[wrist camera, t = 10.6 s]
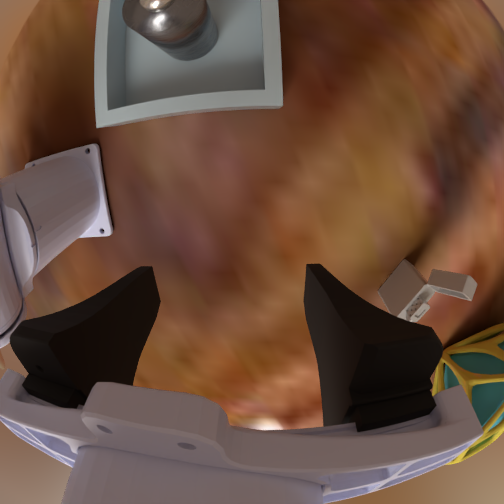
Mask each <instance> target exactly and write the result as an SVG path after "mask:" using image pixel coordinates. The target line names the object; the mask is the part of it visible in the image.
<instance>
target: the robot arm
mask: <svg viewBox="0 0 504 504" xmlns="http://www.w3.org/2000/svg"><path fill="white" fill-rule="evenodd" d="M88 148H89V149H90V153H88ZM102 229H104V232H103V231H102ZM112 233H113V227H112V222H111V218H110V213H109V207H108V202H107V197H106V191H105V185H104V179H103V172H102V165H101V157H100V149H99V146H98V144H90V145H86V146H82V147H78V148H74V149H71V150H67V151H64V152H60V153H57V154H54V155H50V156H47V157H44V158H41V159H38V160H35V161H32V162H29V163H27V164H26V165H25V169H24V170H22V171H19V172H16V173H14V174H11V175H9V176H7V177H4V178H2V179H0V348H2V347H3V346H5V345H7V344H8V343H9V342H10V344H11V347H12V349H13V351H14V353H15V354H16V356H17V357H18V359H19V360H20V362H21V363H22V365H23V366H24V368H25V369H26V370H27V372H28V373H29V374H28V376H27V377H26V378H25V377H24V376H23V375H21V374H20V373H17V372H15V371H13V370H11V369H7V371H6V372H5V374H4V375H3V377H2V378H1V380H0V420H1V422H2V423H4V424H5V425H6V426H7V427H8V428H9V429H10V430H11V431H12V432H13V433H14V434H15V435H16V436H18V437H19V438H21V439H23V440H24V441H26V442H28V443H29V444H31V445H32V446H34V447H36V448H38V449H39V450H41V451H43V452H45V453H46V454H48V455H50V456H52V457H53V458H55V459H57V460H59V461H61V462H63V463H64V464H66V465H69V466H70V467H72V471H71V474H70V477H69V480H68V483H67V486H66V489H65V492H64V496H63V499H62V503H61V504H325V503H330V502H335V501H340V500H344V499H348V498H352V497H356V496H360V495H364V494H367V493H370V492H374V491H377V490H380V489H384V488H387V487H390V486H392V485H395V484H398V483H401V482H404V481H406V480H409V479H411V478H414V477H416V476H419V475H421V474H424V473H426V472H429V471H431V470H433V469H436V468H438V467H440V466H442V465H445V464H447V463H449V462H451V461H452V460H453V459H455V458H456V457H457V456H458V455H460V454H461V453H462V452H463V451H465V450H466V449H467V448H468V447H469V446H471V445H472V444H473V443H474V442H475V441H476V440H477V439H479V438H480V437H481V436H482V435H483V433H484V431H483V429H482V427H481V424H480V422H479V420H478V418H477V415H476V413H475V411H474V409H473V407H472V405H471V403H470V401H469V399H468V397H467V395H466V393H465V391H464V389H463V387H462V385H457V386H454V387H452V388H449V389H446V390H443V391H440V392H438V393H437V394H435V395H434V396H432V394H431V391H430V389H432V387H433V384H432V382H431V380H430V377H431V375H432V374H433V372H434V370H435V369H436V367H437V365H438V364H439V362H440V359H441V357H442V355H443V346H442V343H441V341H440V340H439V338H438V336H437V335H436V333H435V332H434V330H433V329H432V327H428V326H425V325H421V324H417V323H413V322H410V321H407V320H405V319H402V318H399V317H397V316H394V315H392V314H389V313H387V312H385V311H383V310H381V309H379V308H377V307H375V306H374V305H372V304H370V303H369V302H367V301H365V300H364V299H362V298H361V297H359V296H358V295H356V294H355V293H354V292H352V291H351V290H350V289H348V288H347V287H346V286H345V285H343V284H342V283H341V282H340V281H339V280H337V279H336V278H335V277H334V276H333V275H332V274H331V273H330V272H329V271H327V270H326V269H325V268H324V267H323V266H322V265H321V264H307V265H306V279H305V291H304V307H305V315H306V320H307V324H308V328H309V332H310V335H311V339H312V343H313V346H314V350H315V354H316V358H317V363H318V370H319V378H320V387H321V397H322V409H323V425H324V427H316V428H305V429H291V430H255V429H249V428H242V427H236V426H231V425H229V422H228V417H227V414H226V413H225V412H224V410H223V409H222V408H221V407H220V405H218V404H217V403H215V402H213V401H211V400H209V399H207V398H205V397H203V396H199V395H194V394H189V393H185V392H175V391H166V390H158V389H150V388H143V387H137V386H133V381H134V376H135V372H136V369H137V365H138V361H139V358H140V355H141V352H142V350H143V348H144V345H145V343H146V341H147V338H148V336H149V334H150V331H151V329H152V327H153V324H154V322H155V320H156V317H157V313H158V310H159V306H160V302H161V301H160V297H159V293H158V289H157V285H156V281H155V276H154V272H153V268H152V266H141V267H139V268H137V269H135V270H133V271H132V272H130V273H129V274H127V275H125V276H124V277H122V278H121V279H119V280H118V281H116V282H115V283H113V284H112V285H110V286H109V287H107V288H105V289H104V290H102V291H100V292H99V293H97V294H96V295H94V296H92V297H90V298H88V299H86V300H84V301H82V302H80V303H78V304H76V305H74V306H71V307H69V308H66V309H64V310H62V311H59V312H56V313H53V314H49V315H46V316H42V317H38V318H33V319H29V320H25V319H26V315H27V307H26V302H25V300H24V298H25V297H26V296H27V295H28V294H29V293H30V292H31V291H32V290H33V284H32V279H33V277H34V276H35V275H36V274H37V273H38V272H39V271H40V270H41V269H42V268H43V267H45V266H46V265H47V264H48V263H49V262H50V261H51V260H52V259H54V258H55V257H56V256H57V255H58V254H59V253H60V252H62V251H63V250H64V249H65V248H66V247H67V246H69V245H70V244H71V243H72V242H73V241H75V240H76V239H77V238H82V237H99V236H110V235H111V234H112Z"/></svg>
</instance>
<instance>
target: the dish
mask: <svg viewBox="0 0 504 504" xmlns="http://www.w3.org/2000/svg"><path fill="white" fill-rule="evenodd" d="M124 1H125V0H99V5H98V14H97V24H96V36H95V58H94V91H95V113H96V127H97V128H102V127H110V126H119V125H124V124H129V123H134V122H139V121H145V120H150V119H156V118H163V117H169V116H176V115H184V114H193V113H202V112H213V111H226V110H245V109H279V108H281V107H282V106H283V87H282V62H281V42H280V25H279V9H278V0H207V3H208V5H209V8H210V10H211V13H212V15H213V18H214V20H215V23H216V25H217V28H218V32H219V35H218V40H217V43H216V45H215V46H214V48H213V49H212V50H211V51H210V52H209V53H208V54H206V55H205V56H203V57H201V58H199V59H196V60H191V61H181V60H177V59H174V58H172V57H171V56H169V55H168V54H167V53H165V52H164V51H163V50H161V49H160V48H158V47H157V46H156V45H154V44H153V43H151V42H150V41H149V40H147V39H146V38H144V37H143V36H141V35H140V34H138V33H137V32H135V31H134V30H132V29H131V28H130V27H128V26H127V25H126V23H125V22H124V20H123V17H122V8H123V4H124Z"/></svg>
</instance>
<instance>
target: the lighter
mask: <svg viewBox="0 0 504 504" xmlns="http://www.w3.org/2000/svg"><path fill="white" fill-rule="evenodd" d="M476 287H477V283H476V282H475V281H474V280H473V278H472V277H471V276H469V275H464V274H459V273H453V272H447V271H441V270H435V269H433V270H432V272H431V275H430V277H429V280H428V282H427V281H426V279H425V278H424V277H423V276H422V275H421V274H420V272H419V271H418V270H417V269H416V268H415V267H414V266H413V265H412V264H411V263H410V262H408V261H407V260H406V259H404V260H402V262H401V263H400V264H399V265H398V267H397V268H396V269H395V270H394V272H393V273H392V274H391V275H390V277H389V278H388V279H387V280H386V281H385V283H384V284H383V285H382V286H381V287H380V289H379V290H378V293H379V295H380V297H381V299H382V300H383V302H384V304H385V306H386V307H387V309H388V311H389V313H390V314H392V315H394V316H397V317H399V318H402V319H405V320H407V321H410V322H417V321H418V320H419V319H420V318H421V317H422V316H423V315H424V314H425V313H426V312H427V310H428V309H429V308H430V306H429V304H428V303H427V302H428V300H429V299H430V298H431V297H432V296H433V295H434V293H435V291H436V292H438V293H442V294H446V295H450V296H454V297H458V298H462V299H466V300H469V301H472V298H473V295H474V293H475V290H476Z"/></svg>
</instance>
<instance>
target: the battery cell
mask: <svg viewBox="0 0 504 504" xmlns="http://www.w3.org/2000/svg"><path fill="white" fill-rule="evenodd" d="M122 17H123V20H124V22H125V23H126V25H127V26H128V27H130V28H131V29H132V30H134V31H135V32H137V33H138V34H140V35H141V36H143V37H144V38H146V39H147V40H149V41H150V42H151V43H153V44H154V45H156V46H157V47H158V48H160V49H161V50H163V51H164V52H165V53H167V54H168V55H169V56H171V57H172V58H174V59H177V60H181V61H191V60H196V59H199V58H201V57H203V56H205V55H206V54H208V53H209V52H210V51H211V50H212V49H213V48H214V46H215V45H216V43H217V40H218V35H219V32H218V28H217V25H216V23H215V20H214V18H213V15H212V13H211V10H210V8H209V5H208V3H207V0H125V1H124V4H123V8H122Z"/></svg>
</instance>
